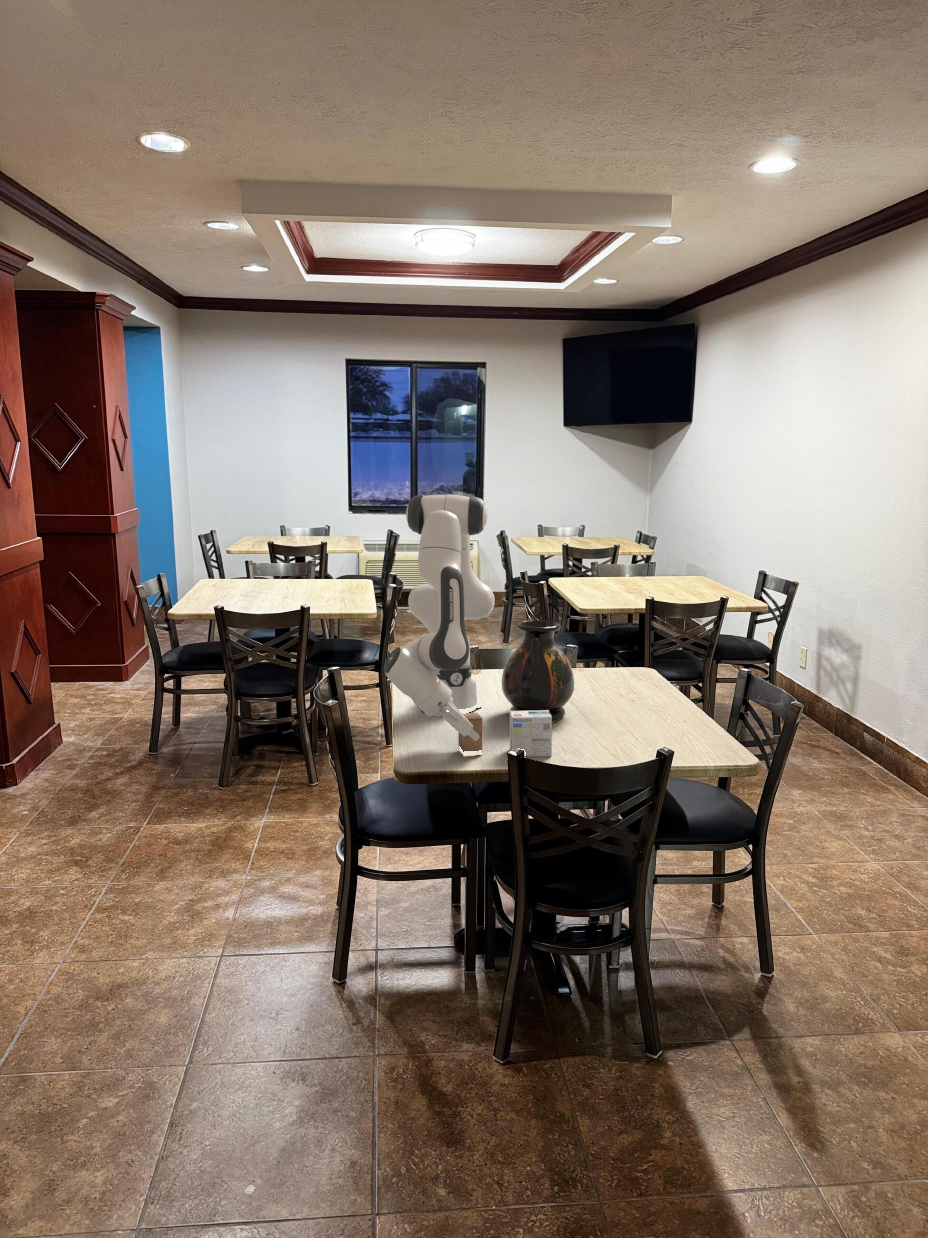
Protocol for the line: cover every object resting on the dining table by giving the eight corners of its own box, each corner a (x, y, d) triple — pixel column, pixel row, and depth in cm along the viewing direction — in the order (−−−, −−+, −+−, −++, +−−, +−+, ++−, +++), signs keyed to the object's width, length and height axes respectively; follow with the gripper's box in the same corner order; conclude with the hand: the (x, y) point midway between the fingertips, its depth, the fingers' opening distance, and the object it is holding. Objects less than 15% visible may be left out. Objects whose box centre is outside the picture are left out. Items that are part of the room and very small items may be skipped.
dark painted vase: (570, 728, 239) (572, 631, 234) (495, 724, 243) (496, 629, 238) (576, 708, 260) (578, 618, 255) (507, 704, 264) (507, 616, 259)
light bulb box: (549, 748, 222) (549, 709, 220) (552, 757, 216) (553, 716, 214) (508, 749, 222) (508, 709, 220) (510, 757, 215) (511, 717, 213)
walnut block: (458, 751, 221) (458, 714, 219) (477, 749, 222) (477, 712, 220) (463, 757, 216) (463, 719, 214) (482, 755, 217) (482, 718, 215)
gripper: (453, 700, 204) (492, 735, 208) (435, 680, 224) (470, 713, 228) (435, 719, 204) (474, 754, 208) (418, 697, 223) (454, 730, 227)
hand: (472, 732), depth 218 cm, fingers open, 8 cm apart
